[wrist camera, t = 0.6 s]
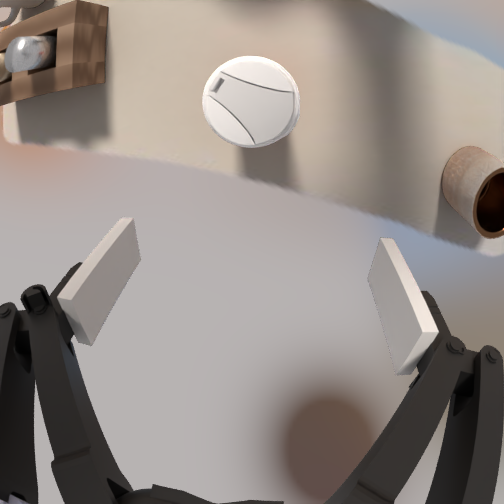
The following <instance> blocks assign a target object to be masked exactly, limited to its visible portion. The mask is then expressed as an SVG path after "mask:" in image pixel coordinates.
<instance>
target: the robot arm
mask: <svg viewBox="0 0 504 504" xmlns="http://www.w3.org/2000/svg"><path fill="white" fill-rule="evenodd" d="M140 260H141V258H140V253H139V247H138V241H137V236H136V229H135V223H134V218H124V217H122V218H121V219H120V220H119V221H118V222H117V223H116V224H115V225H114V226H113V228H112V229H111V230H110V231H109V232H108V233H107V235H106V236H105V237H104V238H103V239H102V240H101V242H100V243H99V244H98V245H97V246H96V248H95V249H94V250H93V251H92V252H91V254H90V255H89V256H88V258H87V259H86V260H85V261H84V262H83V263H81V262H79V263H78V264H76V265H75V266H73V267H72V268H71V269H70V270H69V271H68V273H67V274H66V276H64V278H63V279H62V280H61V282H60V283H59V284H58V285H57V287H56V288H55V289H54V291H53V292H52V293H51V295H50V296H49V295H48V292H47V290H46V288H45V286H43V285H39V284H37V285H33V286H31V287H29V288H27V289H26V290H25V291H24V292H23V294H22V295H21V301H22V303H23V305H24V307H25V309H26V310H22V311H18V310H17V308H16V306H15V304H13V303H11V302H8V303H5V304H2V305H1V306H0V504H38V484H37V474H36V463H35V449H34V394H35V380H36V385H37V391H38V396H39V401H40V405H41V409H42V414H43V418H44V422H45V426H46V429H47V433H48V437H49V440H50V444H51V447H52V450H53V453H54V460H53V461H52V462H51V468H52V472H53V475H54V477H55V480H56V483H57V486H58V488H59V491H60V493H61V496H62V498H63V501H64V502H65V504H216V503H212V502H209V501H207V500H204V499H202V498H199V497H196V496H194V495H192V494H189V493H187V492H185V491H181V490H177V489H172V488H167V487H162V486H158V485H155V484H153V486H152V489H140V490H135V491H133V489H132V487H131V485H130V484H129V482H128V481H127V479H126V478H125V477H124V475H123V474H122V473H121V471H120V469H119V468H118V465H117V463H116V462H115V459H114V457H113V455H112V453H111V451H110V448H109V446H108V444H107V442H106V439H105V437H104V435H103V432H102V430H101V428H100V425H99V422H98V420H97V417H96V415H95V412H94V410H93V407H92V404H91V401H90V399H89V396H88V393H87V390H86V387H85V384H84V381H83V378H82V374H81V371H80V368H79V365H78V361H77V358H76V354H75V350H74V347H73V344H72V342H71V338H72V337H73V335H75V337H76V339H77V341H78V342H79V343H83V344H86V345H90V346H92V345H93V343H94V341H95V339H96V337H97V335H98V333H99V332H100V330H101V327H102V326H103V324H104V322H105V320H106V318H107V317H108V315H109V313H110V311H111V310H112V308H113V306H114V304H115V303H116V301H117V299H118V297H119V296H120V294H121V292H122V290H123V289H124V287H125V285H126V284H127V282H128V280H129V279H130V277H131V275H132V274H133V272H134V270H135V269H136V267H137V265H138V264H139V262H140ZM368 282H369V285H370V287H371V290H372V294H373V297H374V300H375V303H376V306H377V310H378V313H379V316H380V319H381V323H382V326H383V330H384V333H385V336H386V340H387V344H388V347H389V351H390V354H391V359H392V362H393V366H394V370H395V374H396V375H410V374H411V373H412V372H413V371H414V369H415V368H416V366H417V368H418V372H419V374H418V375H417V377H416V378H415V379H414V381H413V382H412V383H411V385H410V386H409V388H410V389H409V391H408V392H407V394H406V396H405V397H404V399H403V401H402V402H401V404H400V405H399V407H398V409H397V410H396V412H395V413H394V415H393V417H392V418H391V420H390V421H389V423H388V424H387V426H386V427H385V429H384V430H383V432H382V433H381V435H380V436H379V437H378V439H377V440H376V442H375V443H374V444H373V446H372V447H371V449H370V450H369V451H368V453H367V454H366V455H365V457H364V458H363V459H362V461H361V462H360V463H359V464H358V466H357V467H356V468H355V469H354V471H353V472H352V473H351V474H350V476H349V477H348V478H347V479H346V481H345V482H344V483H343V484H342V485H341V486H340V488H339V489H338V490H337V491H336V492H335V493H334V494H333V495H332V496H331V497H330V498H329V499H328V500H327V501H326V502H325V503H324V504H394V500H395V499H396V497H397V496H398V494H399V493H400V491H401V490H402V488H403V487H404V485H405V484H406V482H407V480H408V479H409V477H410V476H411V474H412V472H413V471H414V469H415V467H416V466H417V464H418V462H419V460H420V459H421V457H422V455H423V453H424V451H425V449H426V448H427V446H428V444H429V442H430V440H431V438H432V436H433V434H434V432H435V430H436V428H437V426H438V424H439V422H440V420H441V418H442V415H443V413H444V411H445V409H446V407H447V404H448V402H449V399H450V405H449V411H448V417H447V422H446V428H445V433H444V438H443V442H442V447H441V451H440V456H439V459H438V463H437V467H436V471H435V474H434V478H433V481H432V485H431V488H430V491H429V494H428V497H427V500H426V503H425V504H492V501H493V497H494V492H495V487H496V482H497V476H498V470H499V462H500V455H501V446H502V434H503V419H504V372H503V359H502V356H501V354H500V352H499V351H498V350H497V349H496V348H494V347H492V346H489V345H487V346H484V347H483V348H482V349H481V350H480V352H475V351H471V350H467V349H466V347H465V345H464V343H463V342H462V341H461V340H460V339H458V338H457V337H454V336H451V334H450V331H449V329H448V327H447V325H446V323H445V320H444V318H443V316H442V315H441V312H440V310H439V308H438V306H437V304H436V302H435V300H434V298H433V297H432V296H431V295H430V294H429V293H428V292H427V291H420V289H419V287H418V285H417V283H416V281H415V279H414V278H413V275H412V273H411V271H410V269H409V267H408V266H407V264H406V262H405V260H404V258H403V256H402V254H401V252H400V251H399V249H398V247H397V245H396V243H395V242H394V240H393V239H391V238H382V237H380V240H379V243H378V247H377V250H376V253H375V257H374V260H373V263H372V266H371V269H370V273H369V276H368ZM450 397H451V398H450ZM222 504H284V502H283V501H259V500H247V501H239V502H231V503H222Z"/></svg>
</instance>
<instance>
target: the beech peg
mask: <svg viewBox="0 0 504 504" xmlns="http://www.w3.org/2000/svg"><path fill="white" fill-rule="evenodd" d="M4 58H5V53H0V82H1V81H6V80H10V79H12V73H11V72H9V71H8V70H7V69H6V67H5V62H4Z"/></svg>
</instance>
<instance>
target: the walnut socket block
mask: <svg viewBox="0 0 504 504" xmlns="http://www.w3.org/2000/svg"><path fill="white" fill-rule="evenodd" d="M107 16H108V7H106V6H102V5H98V4H94V3H90V2H85V1H80V0H75V1H72V2H69V3H66V4H63V5H60V6H57V7H55V8H52V9H49V10H47V11H44V12H42V13H40V14H37V15H35V16H33V17H30V18H28V19H26V20H24V21H21V22H19V23H17V24H15V25H13V26H11V27H9V28H7V29H5V30H3V31H1V32H0V53H6V50H7V47H8V45H9V44H10V42H11V41H12V40H13V39H15V38H17V37H26V36H57V49H56V66H52V67H45V68H38V69H31V70H25V71H20V72H14V73H12V79H10V80H6V81H1V82H0V106H1V105H5V104H8V103H11V102H15V101H19V100H22V99H26V98H30V97H34V96H38V95H42V94H47V93H51V92H56V91H61V90H66V89H71V88H76V87H81V86H87V85H93V84H99V83H105V46H106V29H107Z"/></svg>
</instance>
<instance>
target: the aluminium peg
mask: <svg viewBox="0 0 504 504" xmlns="http://www.w3.org/2000/svg"><path fill="white" fill-rule="evenodd" d="M56 49H57V36H26V37H17V38H15V39H13V40H12V41H11V42H10V44H9V45H8V47H7V50H6V53H5V58H4V62H5V67H6V69H7V70H8V71H9V72H11V73H14V72H20V71H25V70H31V69H38V68H45V67H52V66H56Z"/></svg>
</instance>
